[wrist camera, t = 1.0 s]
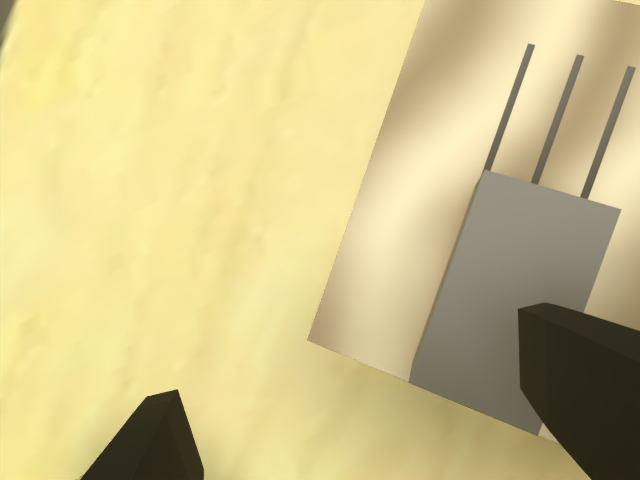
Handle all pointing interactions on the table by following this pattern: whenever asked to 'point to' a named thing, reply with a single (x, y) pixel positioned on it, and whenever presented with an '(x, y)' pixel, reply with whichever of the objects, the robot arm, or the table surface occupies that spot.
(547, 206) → the block
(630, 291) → the board
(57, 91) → the table surface
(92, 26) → the table surface
